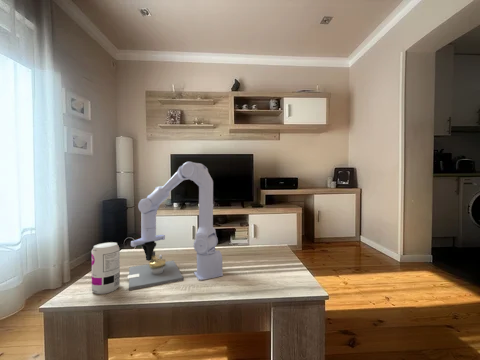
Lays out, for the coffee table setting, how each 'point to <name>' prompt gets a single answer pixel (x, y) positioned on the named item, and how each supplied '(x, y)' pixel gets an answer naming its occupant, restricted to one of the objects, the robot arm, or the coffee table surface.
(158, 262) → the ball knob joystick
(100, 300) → the coffee table surface
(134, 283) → the plate
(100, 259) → the supplement can
